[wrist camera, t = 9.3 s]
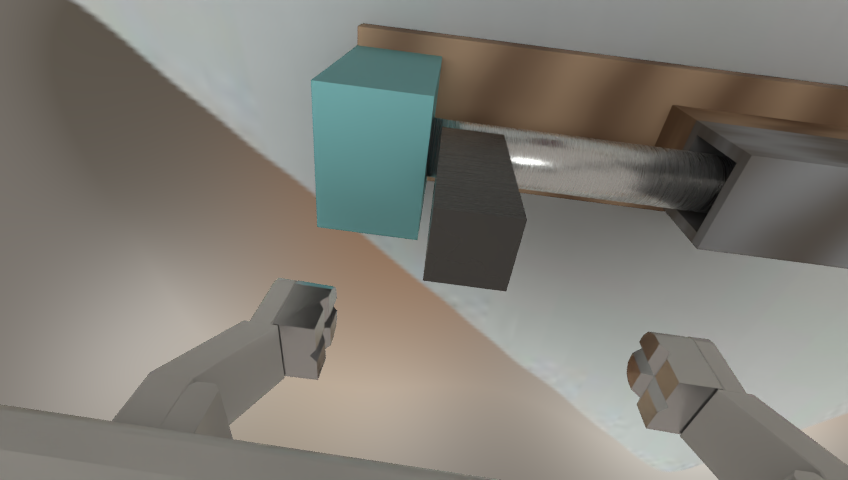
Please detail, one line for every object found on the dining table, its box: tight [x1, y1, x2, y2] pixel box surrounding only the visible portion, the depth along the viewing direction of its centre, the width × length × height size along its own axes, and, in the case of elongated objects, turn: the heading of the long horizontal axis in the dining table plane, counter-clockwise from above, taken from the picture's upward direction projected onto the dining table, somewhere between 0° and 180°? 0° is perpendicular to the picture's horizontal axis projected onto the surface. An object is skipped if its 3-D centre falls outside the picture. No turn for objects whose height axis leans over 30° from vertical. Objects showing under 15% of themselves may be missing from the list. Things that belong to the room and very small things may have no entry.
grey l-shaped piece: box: [423, 118, 736, 291], centre depth 18 cm, size 18×3×10 cm, turn 84°
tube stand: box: [358, 23, 848, 269], centre depth 23 cm, size 32×9×10 cm, turn 84°
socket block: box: [311, 45, 442, 240], centre depth 22 cm, size 5×7×9 cm
